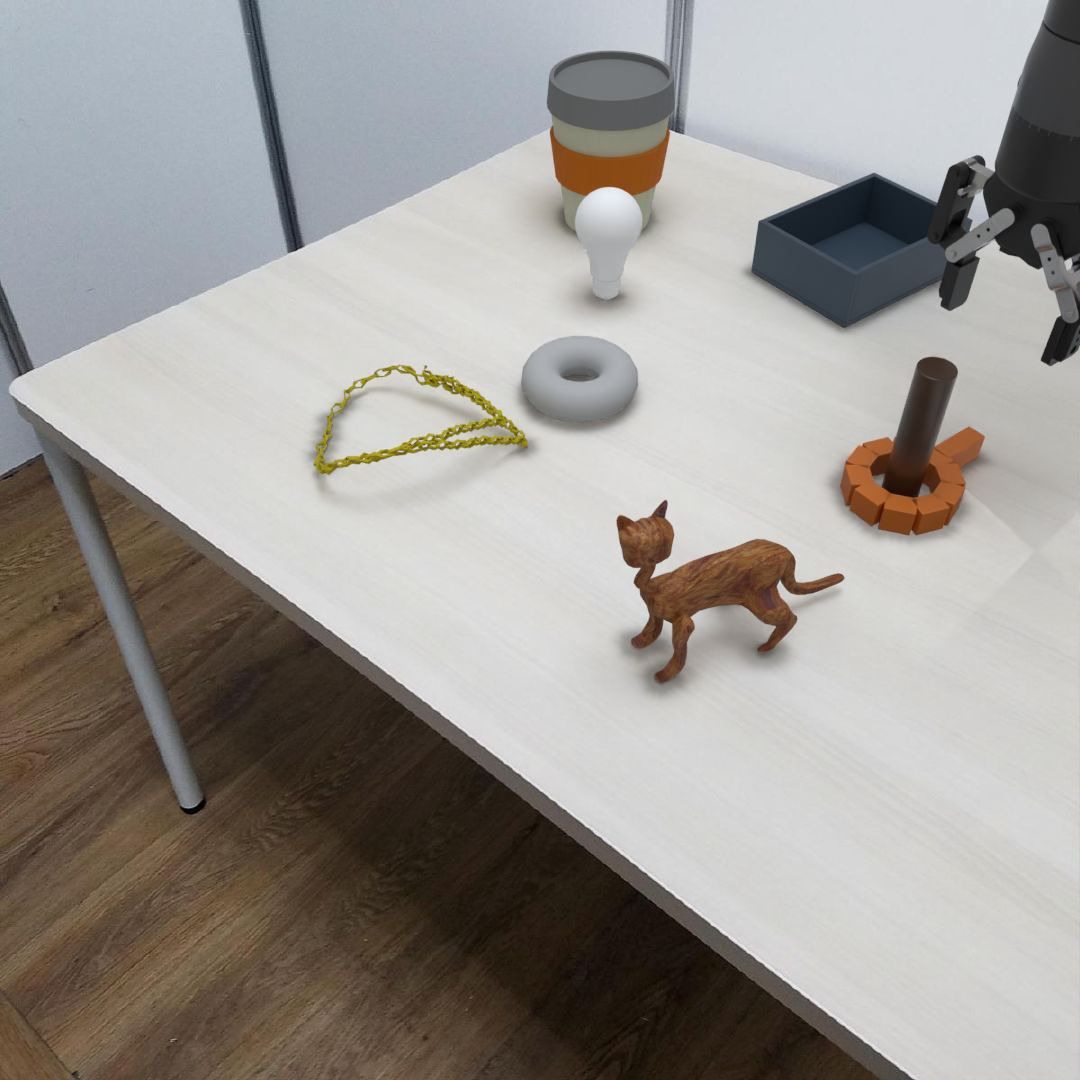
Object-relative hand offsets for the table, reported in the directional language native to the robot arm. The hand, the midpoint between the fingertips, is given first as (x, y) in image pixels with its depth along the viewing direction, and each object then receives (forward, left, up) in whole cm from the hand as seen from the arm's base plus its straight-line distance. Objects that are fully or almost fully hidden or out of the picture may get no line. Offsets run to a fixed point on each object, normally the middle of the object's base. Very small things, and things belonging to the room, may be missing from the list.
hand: (1000, 332), depth 76 cm
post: (+6, +2, -12) cm, 14 cm away
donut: (+27, -16, -13) cm, 34 cm away
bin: (-4, -29, -12) cm, 32 cm away
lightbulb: (+21, -30, -13) cm, 38 cm away
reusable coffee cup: (+17, -45, -13) cm, 49 cm away
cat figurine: (+23, +12, -13) cm, 29 cm away
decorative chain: (+41, -13, -13) cm, 45 cm away
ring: (+4, +1, -12) cm, 13 cm away
